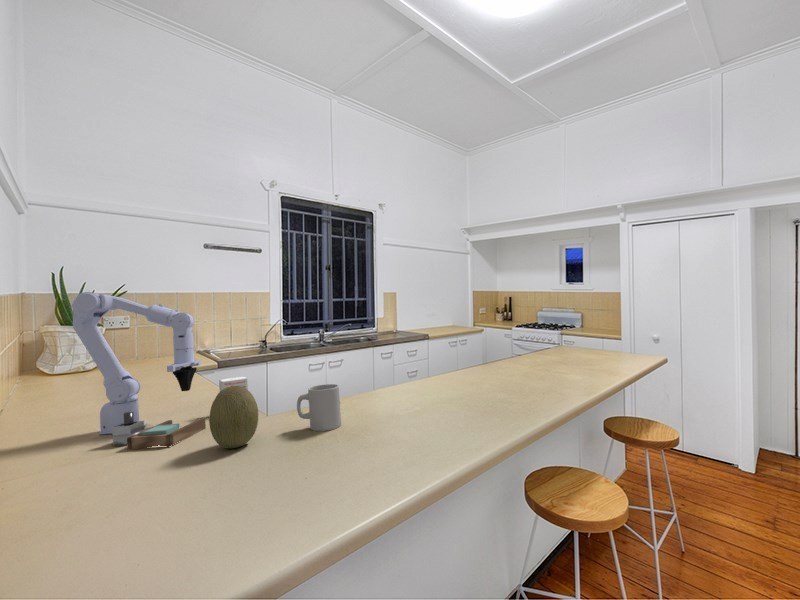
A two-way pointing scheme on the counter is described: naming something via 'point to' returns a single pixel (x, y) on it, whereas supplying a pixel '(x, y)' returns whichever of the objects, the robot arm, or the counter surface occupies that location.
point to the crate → (161, 429)
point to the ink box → (233, 382)
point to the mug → (322, 407)
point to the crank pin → (128, 418)
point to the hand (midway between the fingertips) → (185, 390)
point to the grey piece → (126, 432)
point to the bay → (165, 436)
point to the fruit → (233, 417)
